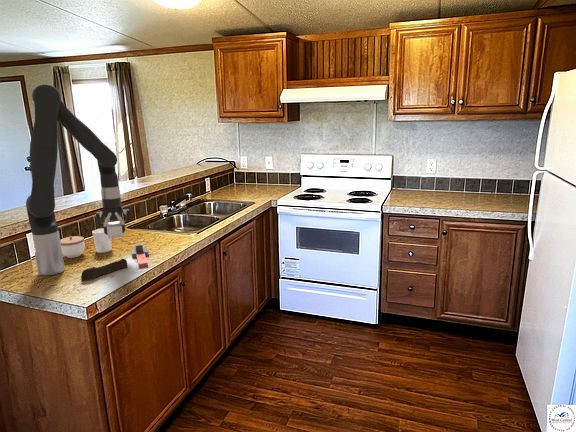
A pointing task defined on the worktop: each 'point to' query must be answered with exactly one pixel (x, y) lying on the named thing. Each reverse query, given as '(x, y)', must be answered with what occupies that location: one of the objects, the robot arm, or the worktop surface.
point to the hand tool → (102, 270)
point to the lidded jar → (72, 246)
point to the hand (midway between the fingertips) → (115, 233)
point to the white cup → (101, 241)
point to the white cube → (114, 229)
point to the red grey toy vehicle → (140, 255)
